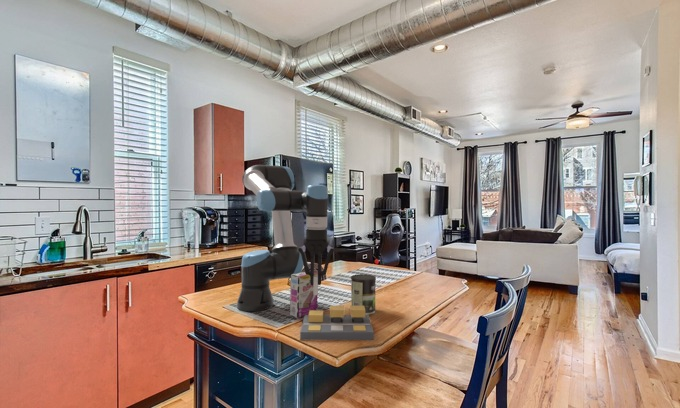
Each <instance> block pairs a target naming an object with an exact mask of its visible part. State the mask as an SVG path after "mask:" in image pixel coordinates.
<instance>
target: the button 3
mask: <svg viewBox="0 0 680 408" xmlns="http://www.w3.org/2000/svg"><path fill="white" fill-rule="evenodd" d="M350 315H351V317H353V321H354V322H362V317H365V307H364V306H351V305H350Z"/></svg>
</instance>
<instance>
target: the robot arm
mask: <svg viewBox="0 0 680 408" xmlns="http://www.w3.org/2000/svg"><path fill="white" fill-rule="evenodd" d="M241 176H242V178H241V180H242V183H243V185H244V187H245V188H246V189H248V190H249V191H252V193H253V194H254V195H255V196H256V204H257V209H258V210H259V211H264V212H265V211H266V212H271V218H272V227H273V230H272V231H273V237H274V239H273V240H274V241H273V242H274V246H273V247H272V249H271V252H270V250H269V249H257V250H254V251H253V250H252V251H249V252H247V253H245V254H243V255H242V258H241V265H240V266H241V267H240V268H241V289H240V292H239V296H238V298H237V302H236V308H237V310H240V311H243V312H258V311H264V310H268V309H271V308H272V307H273V305H274V297H273V294H272V292H271V291H272V290H271V288H270V281H272V280H281V279H291V275H292V274H297V273H302V272H303V270H304V272H305V273H306V274H307V275H310V284H311V285H313V295H318V294H319V286H321V285H322V276H325V275H327V271H328V268H329V265H330V261H331V260H330V259H331V256H332V255H333V253H334V250H335V247H333V246H332V247H331V246H330V244H329V243H328V230H327V227H328V206H329V205H328V204H329V203H328V201H329V195H328V193H329V192H328V187H327V186H326V185H315V184H314V185H313V184H312V185H307V187H306V190H293V189H294V187H295V176H294V173H293V171H292V169H291V168H290V167H288V166H283V165H266V164H255V165H252V166H250V167H248V168H247V169H246V170H244V171H243V174H242V175H241ZM292 211H293V212H294V211H295V212H298V211H299V212H300V211H301V212H303V211H304V212H305V211H306V213H305V214H306V217H305V219H306V221H305V226H306V228H307V229H306V230H305V231H306V232H305V243H304V245H302V246H299V248H298V246H297V245H296V244H295V243H294V233H293V225H292V224H293V223H292V217H291V215H292V214H291V212H292ZM306 250H307V251H308V253H309V254H310V267H309V264H308V261H307V260H308V259H307V254H306ZM325 251H327V255H326V258H325V262H324V266H323V270H322V262H323V261H322V260H323V259H322V257H323V256H322V255H323V253H324V252H325ZM315 255H317V272H318V275H314V272H315ZM318 296H319V295H318Z"/></svg>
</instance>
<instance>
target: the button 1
mask: <svg viewBox="0 0 680 408" xmlns="http://www.w3.org/2000/svg"><path fill="white" fill-rule="evenodd" d="M323 315H324V310H318V309H317V310H310V311H309V315H308V322H323Z"/></svg>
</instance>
